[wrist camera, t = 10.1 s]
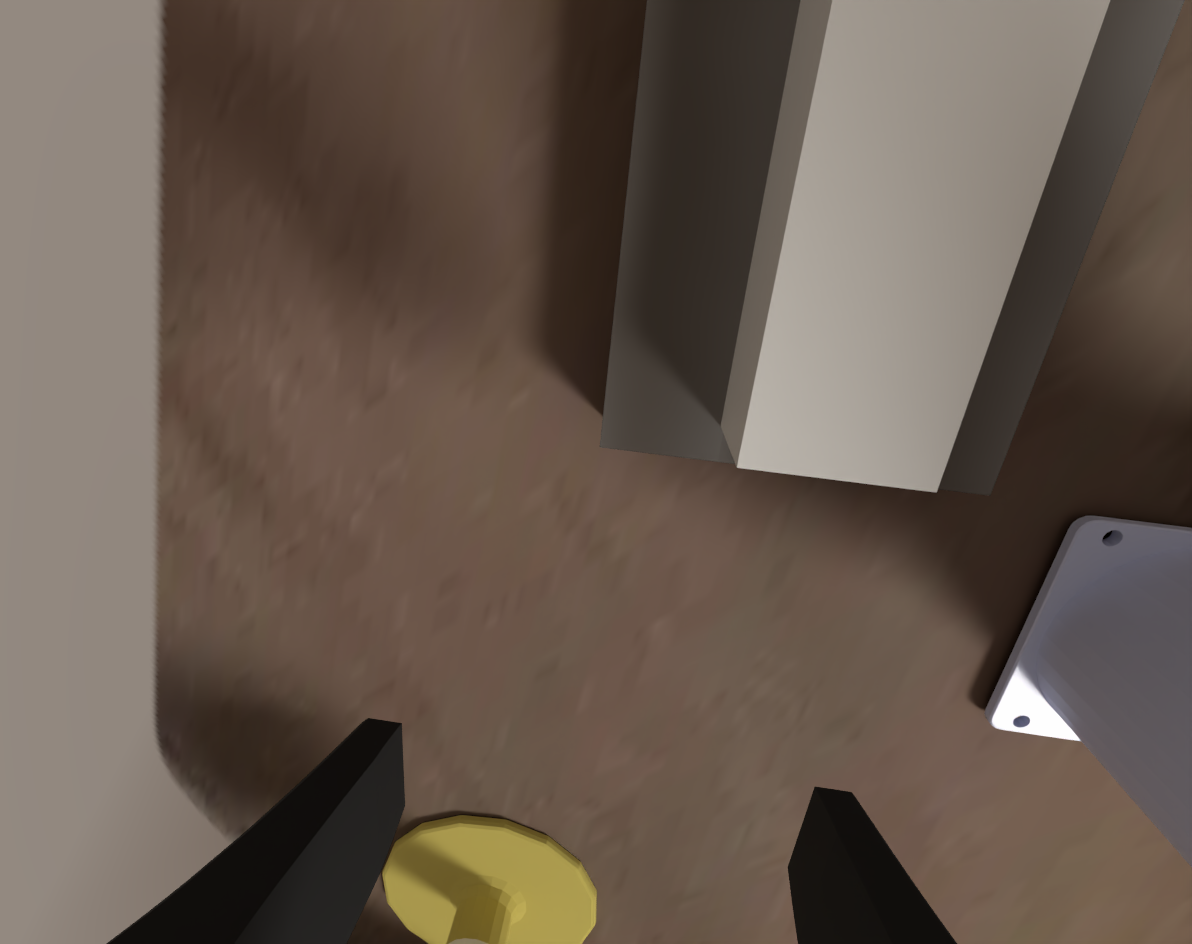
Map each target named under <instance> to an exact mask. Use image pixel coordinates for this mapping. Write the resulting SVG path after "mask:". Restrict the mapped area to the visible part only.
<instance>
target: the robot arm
mask: <svg viewBox="0 0 1192 944" xmlns="http://www.w3.org/2000/svg"><path fill="white" fill-rule="evenodd" d="M1110 531H1112V534H1111V535H1110V536H1109V537H1108V538H1106V539H1104V540H1102V539H1103V536H1104V535H1105V534H1106V533H1108V532H1110ZM985 716H986V718H987V720H988V721H989V723H990V724H991V725H992V726H993V727H994V728H997V729H1001V730H1007V731H1014V732H1021V733H1028V734H1035V735H1042V736H1049V737H1056V738H1063V739H1069V740H1076V741H1082V742H1083V743H1084V745H1085V746H1086V747H1087V748H1088V749H1089V750H1090V751H1091V753H1092V754H1093V755H1094V756H1095V757H1096V758H1097V759H1098V761H1099V762H1100V763H1101V764H1102V765H1103V766H1104V767H1105V769H1106V770H1107V771H1108V772H1109V773H1110V774H1111V775H1112V777H1113V778H1114V779H1115V780H1116V781H1117V782H1118V783H1119V785H1120V786H1121V787H1122V788H1123V789H1124V790H1125V791H1126V793H1127V794H1128V795H1129V796H1130V797H1131V798H1132V799H1133V801H1134V802H1135V803H1136V804H1137V805H1138V806H1139V807H1140V809H1141V810H1142V811H1143V812H1144V813H1145V814H1146V815H1147V817H1148V818H1149V819H1150V820H1151V821H1152V822H1153V823H1154V825H1155V826H1156V827H1157V828H1158V829H1159V830H1160V831H1161V833H1162V834H1163V835H1164V836H1165V837H1166V838H1167V839H1168V841H1169V842H1170V843H1171V844H1172V845H1173V846H1174V847H1175V849H1176V850H1177V851H1178V852H1179V853H1180V854H1181V855H1182V857H1183V858H1184V859H1185V860H1186V861H1187V862H1188V863H1189V865H1190V866H1191V867H1192V528H1189V527H1181V526H1173V525H1165V524H1157V523H1149V522H1141V521H1133V520H1125V519H1117V518H1109V517H1101V516H1084V517H1081V518H1079V519H1077V520H1076V521H1074V522H1073V523H1072V524H1071V526H1070V527H1069V529H1068V531H1067V533H1066V535H1065V537H1064V540H1063V542H1062V544H1061V546H1060V548H1059V550H1058V553H1057V555H1056V557H1055V559H1054V561H1053V563H1052V566H1051V568H1050V570H1049V572H1048V574H1047V577H1046V579H1045V581H1044V583H1043V585H1042V587H1041V590H1040V592H1039V594H1038V596H1037V598H1036V600H1035V603H1034V605H1033V607H1032V609H1031V611H1030V613H1029V616H1028V618H1027V620H1026V622H1025V624H1024V627H1023V629H1022V631H1021V633H1020V635H1019V637H1018V640H1017V642H1016V644H1015V646H1014V648H1013V650H1012V653H1011V655H1010V657H1009V659H1008V661H1007V663H1006V666H1005V668H1004V670H1003V672H1002V674H1001V677H1000V679H999V681H998V683H997V685H996V687H995V690H994V692H993V694H992V696H991V698H990V700H989V703H988V705H987V707H986V709H985ZM1018 716H1020V717H1018ZM1016 717H1018V718H1016ZM404 807H405V794H404V770H403V745H402V723H397V722H390V721H384V720H377V719H370V718H368V719H366V720H365V721H363V722H362V723H361V724H360V725H359V726H358V727H357V728H356V729H355V730H354V731H353V732H352V733H351V734H350V735H349V736H348V737H347V738H346V739H345V740H344V741H343V742H342V743H341V744H340V745H338V746H337V747H336V748H335V749H334V750H333V751H332V752H331V753H330V754H329V755H328V756H327V757H326V758H325V759H324V760H323V761H322V762H321V763H320V764H319V765H318V766H317V767H316V768H315V769H313V770H312V771H311V772H310V773H309V774H308V775H307V776H306V777H305V778H304V779H303V780H302V781H301V782H300V783H299V784H298V785H297V786H295V787H294V788H293V789H292V790H291V791H290V792H289V793H288V794H287V795H286V796H284V797H283V798H282V799H281V800H280V801H279V802H278V803H277V804H276V805H275V806H273V807H272V808H271V809H270V810H269V811H268V812H267V813H266V814H265V815H263V816H262V817H261V818H260V819H259V820H258V821H257V822H256V823H255V824H254V825H252V826H251V827H250V828H249V829H248V830H247V831H246V832H244V833H243V834H242V835H241V836H240V837H239V838H238V839H236V840H235V841H234V842H233V843H232V844H230V845H229V846H228V847H227V848H226V849H224V850H223V851H222V852H221V853H220V854H219V855H217V856H216V857H215V858H214V859H213V860H211V861H210V862H209V863H208V864H207V865H205V866H204V867H203V868H202V869H201V870H200V871H198V872H197V873H196V874H195V875H194V876H192V877H191V878H190V879H189V880H188V881H187V882H186V883H184V884H183V885H182V886H180V887H179V888H178V889H177V890H175V891H174V892H173V893H172V894H170V895H169V896H168V897H167V898H165V899H164V900H163V901H162V902H160V903H159V904H158V905H156V906H155V907H154V908H153V909H151V910H150V911H149V912H148V913H146V914H145V915H144V916H142V917H141V918H140V919H139V920H137V921H136V922H135V923H133V924H132V925H131V926H130V927H128V928H127V929H125V930H124V931H123V932H121V933H120V934H119V935H117V936H116V937H115V938H113V939H112V940H111V941H110V942H108V943H107V944H347V942H348V940H349V937H350V935H351V933H352V931H353V929H354V927H355V925H356V923H357V921H358V919H359V917H360V914H361V912H362V910H363V908H364V906H365V904H366V902H367V900H368V898H369V896H370V893H371V891H372V889H373V887H374V885H375V883H376V881H377V879H378V876H379V874H380V872H381V870H382V867H383V864H384V862H385V859H386V857H387V854H388V851H389V849H390V846H391V843H392V841H393V838H394V835H395V832H396V829H397V826H398V824H399V821H400V818H401V815H402V812H403V810H404ZM788 873H789V881H790V889H791V897H792V905H793V912H794V919H795V926H796V933H797V940H798V944H957V943H956V942H955V940H954V939H953V937H952V936H951V935H950V933H949V932H948V931H947V929H946V928H945V926H944V925H943V924H942V922H941V921H940V919H939V918H938V917H937V915H936V914H935V913H934V911H933V910H932V908H931V907H930V906H929V904H928V903H927V901H926V900H925V898H924V897H923V896H922V894H921V893H920V891H919V890H918V888H917V887H916V886H915V884H914V883H913V881H912V880H911V878H910V877H909V875H908V874H907V873H906V871H905V870H904V868H903V867H902V865H901V864H900V862H899V861H898V859H897V858H896V857H895V855H894V854H893V852H892V851H891V849H890V848H889V846H888V845H887V843H886V842H885V840H884V839H883V837H882V836H881V834H880V833H879V831H878V830H877V828H876V827H875V825H874V824H873V822H872V821H871V820H870V818H869V817H868V815H867V814H866V812H865V811H864V809H863V808H862V806H861V805H860V803H859V802H858V800H857V799H856V798H855V796H854V795H853V794H852V792H847V791H840V790H834V789H827V788H821V787H815V788H814V791H813V794H812V797H811V800H810V803H809V806H808V809H807V812H806V815H805V818H804V821H803V824H802V827H801V829H800V832H799V835H798V838H797V841H796V844H795V847H794V850H793V853H792V856H791V859H790V862H789V865H788Z"/></svg>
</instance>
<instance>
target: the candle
mask: <svg viewBox="0 0 1192 944" xmlns="http://www.w3.org/2000/svg"><path fill="white" fill-rule="evenodd" d="M382 876H383V881H384V887H385V892H386V897H387V902H388V904H389V905H390V907H391V908H392V909H393V911H394V912H395V913H396V915H397V916H398V917H399V919H400V920H401V921H402V923H403V924H404V925H405V927H406V928H407V929H408V930H410V931H411V932H413V933H414V934H416V935H417V936H418V937H420V938H421V939H423V940H424V941H426V942H427V943H428V944H582V942H583V941H584V940H585V938H586V937H587V935H588V934H589V933H590V931H591V930H592V928H593V927H594V925H595V923H596V896H597V890H596V888H595V887H594V885H593V883H592V881H591V880H590V878H589V876H588V874H587V873H586V871H585V869H584V867H583V865H582V864H581V862H580V861H579V860H578V859H577V858H575V857H574V856H573V855H572V854H570V853H569V852H568V851H567V850H565V849H564V848H563V847H562V846H560V845H559V844H558V843H557V842H555V841H554V840H553V839H551V838H550V837H549V836H547V835H545V834H542V833H539V832H537V831H534V830H532V829H529V828H527V827H524V826H522V825H519V824H517V823H514V822H511V821H509V820H506V819H497V818H487V817H477V816H467V815H458V816H454V817H449V818H444V819H439V820H434V821H429V822H425V823H422V824H420V825H419V826H417V827H416V828H414V829H413V830H411V831H410V832H409V833H407V834H406V835H404V836H403V837H401V838H400V839H398V840H397V841H396V842H395V844H394V846H393V848H392V851H391V853H390V855H389V857H388V860H387V862H386V864H385V867H384V869H383V871H382Z"/></svg>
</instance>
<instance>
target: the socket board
mask: <svg viewBox="0 0 1192 944" xmlns="http://www.w3.org/2000/svg"><path fill="white" fill-rule="evenodd" d="M1183 3H1184V0H1110V3H1109V6H1108V9H1107V11H1106V14H1105V17H1104V20H1103V23H1102V26H1101V28H1100V31H1099V34H1098V37H1097V40H1096V43H1095V45H1094V48H1093V51H1092V54H1091V57H1090V60H1089V62H1088V65H1087V68H1086V71H1085V74H1084V77H1083V79H1082V82H1081V85H1080V88H1079V91H1078V94H1077V96H1076V99H1075V102H1074V105H1073V108H1072V111H1071V113H1070V116H1069V119H1068V122H1067V125H1066V128H1065V130H1064V133H1063V136H1062V139H1061V142H1060V145H1059V147H1058V150H1057V153H1056V156H1055V159H1054V162H1053V164H1052V167H1051V170H1050V173H1049V176H1048V179H1047V181H1046V184H1045V187H1044V190H1043V193H1042V196H1041V198H1040V201H1039V204H1038V207H1037V210H1036V213H1035V215H1034V218H1033V221H1032V224H1031V227H1030V230H1029V232H1028V235H1027V238H1026V241H1025V244H1024V247H1023V249H1022V252H1021V255H1020V258H1019V261H1018V264H1017V266H1016V269H1015V272H1014V275H1013V278H1012V281H1011V283H1010V286H1009V289H1008V292H1007V295H1006V298H1005V300H1004V303H1003V306H1002V309H1001V312H1000V315H999V317H998V320H997V323H996V326H995V329H994V332H993V334H992V337H991V340H990V343H989V346H988V349H987V351H986V354H985V357H984V360H983V363H982V366H981V368H980V371H979V374H978V377H977V380H976V383H975V385H974V388H973V391H972V394H971V397H970V400H969V402H968V405H967V408H966V411H965V414H964V417H963V419H962V422H961V425H960V428H959V431H958V434H957V436H956V439H955V442H954V445H953V448H952V451H951V453H950V456H949V459H948V462H947V465H946V468H945V470H944V473H943V476H942V479H941V482H940V485H939V487H938V489H940V490H948V491H956V492H964V493H972V494H981V495H989V496H990V495H991V492H992V490H993V487H994V485H995V482H996V480H997V477H998V474H999V472H1000V469H1001V467H1002V464H1003V462H1004V459H1005V457H1006V454H1007V452H1008V449H1009V446H1010V444H1011V441H1012V439H1013V436H1014V434H1015V431H1016V429H1017V426H1018V423H1019V421H1020V418H1021V416H1022V413H1023V411H1024V408H1025V406H1026V403H1027V401H1028V398H1029V395H1030V393H1031V390H1032V388H1033V385H1034V383H1035V380H1036V378H1037V375H1038V372H1039V370H1040V367H1041V365H1042V362H1043V360H1044V357H1045V355H1046V352H1047V350H1048V347H1049V344H1050V342H1051V339H1052V337H1053V334H1054V332H1055V329H1056V327H1057V324H1058V322H1059V319H1060V316H1061V314H1062V311H1063V309H1064V306H1065V304H1066V301H1067V299H1068V296H1069V293H1070V291H1071V288H1072V286H1073V283H1074V281H1075V278H1076V276H1077V273H1078V271H1079V268H1080V265H1081V263H1082V260H1083V258H1084V255H1085V253H1086V250H1087V248H1088V245H1089V242H1090V240H1091V237H1092V235H1093V232H1094V230H1095V227H1096V225H1097V222H1098V220H1099V217H1100V214H1101V212H1102V209H1103V207H1104V204H1105V202H1106V199H1107V197H1108V194H1109V192H1110V189H1111V186H1112V184H1113V181H1114V179H1115V176H1116V174H1117V171H1118V169H1119V166H1120V163H1121V161H1122V158H1123V156H1124V153H1125V151H1126V148H1127V146H1128V143H1129V141H1130V138H1131V135H1132V133H1133V130H1134V128H1135V125H1136V123H1137V120H1138V118H1139V115H1140V112H1141V110H1142V107H1143V105H1144V102H1145V100H1146V97H1147V95H1148V92H1149V90H1150V87H1151V84H1152V82H1153V79H1154V77H1155V74H1156V72H1157V69H1158V67H1159V64H1160V62H1161V59H1162V56H1163V54H1164V51H1165V49H1166V46H1167V44H1168V41H1169V39H1170V36H1171V33H1172V31H1173V28H1174V26H1175V23H1176V21H1177V18H1178V16H1179V13H1180V11H1181V8H1182V5H1183ZM799 6H800V0H647V5H646V15H645V24H644V34H643V43H642V53H641V62H640V71H639V81H638V90H637V100H636V109H635V119H634V128H633V138H632V147H631V156H630V166H629V175H628V185H627V194H626V204H625V213H624V223H623V232H622V241H621V251H620V260H619V270H618V279H617V289H616V298H615V308H614V317H613V326H612V336H611V345H610V355H609V364H608V374H607V383H606V393H605V402H604V411H603V421H602V430H601V440H600V447H602V448H610V449H618V450H626V451H634V452H642V453H650V454H658V455H666V456H674V457H683V458H691V459H699V460H707V461H715V462H723V463H731V464H735V462H734V459H733V457H732V454H731V452H730V449H729V446H728V444H727V441H726V439H725V436H724V433H723V431H722V428H721V421H722V416H723V410H724V405H725V400H726V394H727V389H728V384H729V378H730V373H731V368H732V362H733V357H734V352H735V347H736V341H737V336H738V331H739V325H740V320H741V315H742V309H743V304H744V299H745V293H746V288H747V283H748V277H749V272H750V267H751V261H752V256H753V251H754V245H755V240H756V235H757V229H758V224H759V219H760V213H761V208H762V203H763V197H764V192H765V187H766V181H767V176H768V171H769V165H770V160H771V155H772V150H773V144H774V139H775V134H776V128H777V123H778V118H779V112H780V107H781V102H782V96H783V91H784V86H785V80H786V75H787V70H788V64H789V59H790V54H791V48H792V43H793V38H794V32H795V27H796V22H797V16H798V11H799Z"/></svg>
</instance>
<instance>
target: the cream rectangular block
mask: <svg viewBox="0 0 1192 944" xmlns="http://www.w3.org/2000/svg"><path fill="white" fill-rule="evenodd" d="M1109 3H1110V0H800V6H799V11H798V16H797V22H796V27H795V32H794V38H793V43H792V48H791V54H790V59H789V64H788V70H787V75H786V80H785V86H784V91H783V96H782V102H781V107H780V112H779V118H778V123H777V128H776V134H775V139H774V144H773V150H772V155H771V160H770V165H769V171H768V176H767V181H766V187H765V192H764V197H763V203H762V208H761V213H760V219H759V224H758V229H757V235H756V240H755V245H754V251H753V256H752V261H751V267H750V272H749V277H748V283H747V288H746V293H745V299H744V304H743V309H742V315H741V320H740V325H739V331H738V336H737V341H736V347H735V352H734V357H733V362H732V368H731V373H730V378H729V384H728V389H727V394H726V400H725V405H724V410H723V416H722V421H721V428H722V431H723V433H724V436H725V439H726V441H727V444H728V446H729V449H730V452H731V454H732V457H733V459H734V462H735V465H736V467H737V468H743V469H751V470H759V471H767V472H775V473H783V474H791V475H799V476H807V477H815V478H823V479H831V480H839V481H847V482H855V483H863V484H871V485H879V486H887V487H896V488H904V489H912V490H920V491H928V492H936V493H937V490H938V487H939V485H940V482H941V479H942V476H943V473H944V470H945V468H946V465H947V462H948V459H949V456H950V453H951V451H952V448H953V445H954V442H955V439H956V436H957V434H958V431H959V428H960V425H961V422H962V419H963V417H964V414H965V411H966V408H967V405H968V402H969V400H970V397H971V394H972V391H973V388H974V385H975V383H976V380H977V377H978V374H979V371H980V368H981V366H982V363H983V360H984V357H985V354H986V351H987V349H988V346H989V343H990V340H991V337H992V334H993V332H994V329H995V326H996V323H997V320H998V317H999V315H1000V312H1001V309H1002V306H1003V303H1004V300H1005V298H1006V295H1007V292H1008V289H1009V286H1010V283H1011V281H1012V278H1013V275H1014V272H1015V269H1016V266H1017V264H1018V261H1019V258H1020V255H1021V252H1022V249H1023V247H1024V244H1025V241H1026V238H1027V235H1028V232H1029V230H1030V227H1031V224H1032V221H1033V218H1034V215H1035V213H1036V210H1037V207H1038V204H1039V201H1040V198H1041V196H1042V193H1043V190H1044V187H1045V184H1046V181H1047V179H1048V176H1049V173H1050V170H1051V167H1052V164H1053V162H1054V159H1055V156H1056V153H1057V150H1058V147H1059V145H1060V142H1061V139H1062V136H1063V133H1064V130H1065V128H1066V125H1067V122H1068V119H1069V116H1070V113H1071V111H1072V108H1073V105H1074V102H1075V99H1076V96H1077V94H1078V91H1079V88H1080V85H1081V82H1082V79H1083V77H1084V74H1085V71H1086V68H1087V65H1088V62H1089V60H1090V57H1091V54H1092V51H1093V48H1094V45H1095V43H1096V40H1097V37H1098V34H1099V31H1100V28H1101V26H1102V23H1103V20H1104V17H1105V14H1106V11H1107V9H1108V6H1109Z"/></svg>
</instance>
